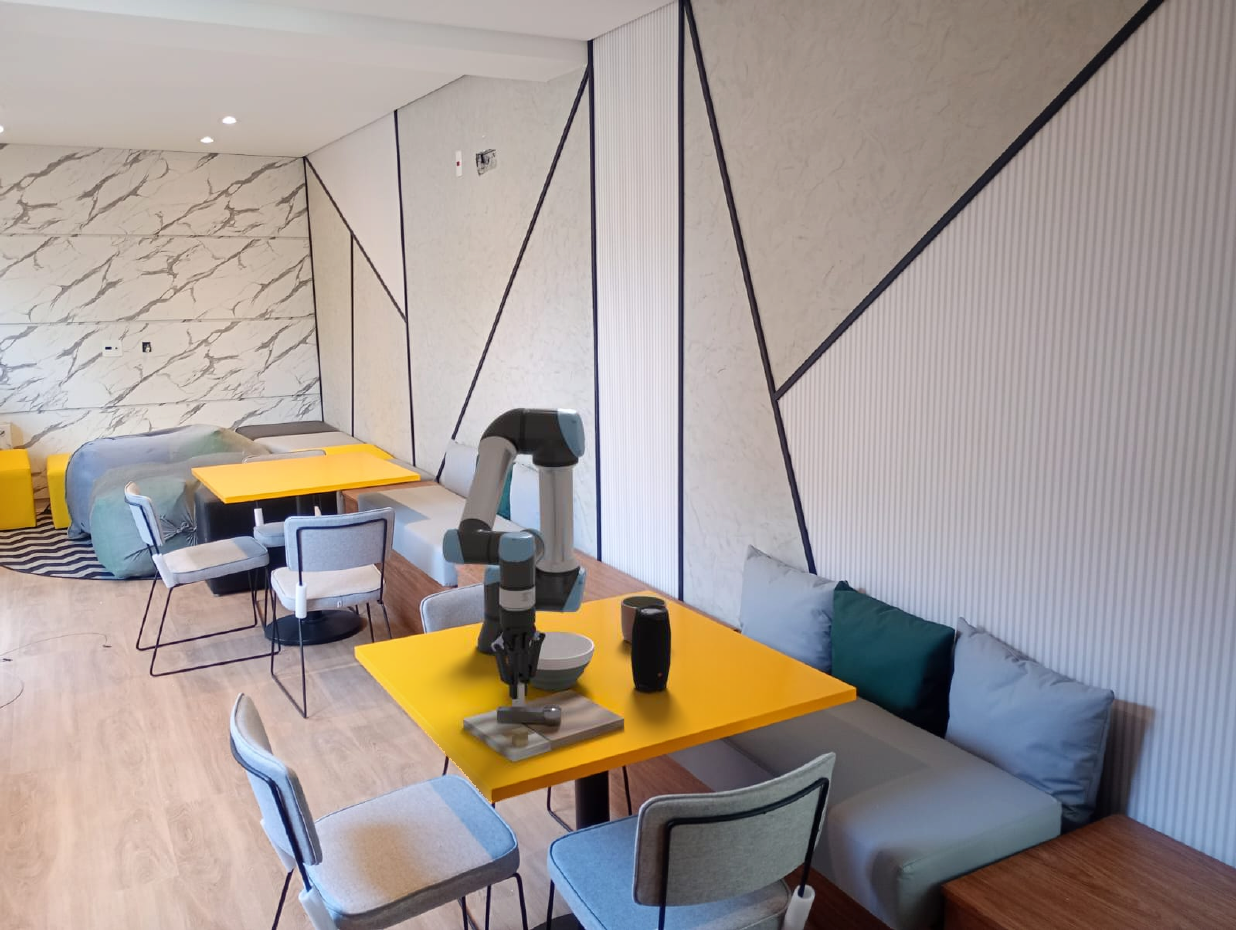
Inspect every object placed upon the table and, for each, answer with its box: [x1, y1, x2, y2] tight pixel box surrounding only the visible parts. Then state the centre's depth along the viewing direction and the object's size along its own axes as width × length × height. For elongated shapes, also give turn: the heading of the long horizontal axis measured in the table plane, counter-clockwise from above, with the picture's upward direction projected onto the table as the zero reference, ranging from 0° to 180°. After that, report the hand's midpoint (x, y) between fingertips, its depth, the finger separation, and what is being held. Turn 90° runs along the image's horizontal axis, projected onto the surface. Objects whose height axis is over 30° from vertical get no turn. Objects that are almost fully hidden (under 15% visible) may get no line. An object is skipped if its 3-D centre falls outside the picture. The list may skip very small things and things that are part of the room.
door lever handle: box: [496, 705, 561, 726], centre depth 205 cm, size 14×4×3 cm, turn 87°
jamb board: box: [462, 688, 625, 763], centre depth 207 cm, size 20×28×5 cm
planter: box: [620, 595, 667, 644], centre depth 263 cm, size 12×12×11 cm
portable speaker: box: [630, 604, 672, 694], centre depth 229 cm, size 9×9×20 cm
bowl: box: [528, 631, 595, 692], centre depth 232 cm, size 20×20×10 cm
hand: (518, 711), depth 208 cm, fingers closed
